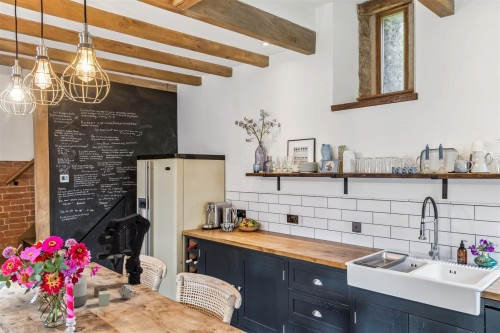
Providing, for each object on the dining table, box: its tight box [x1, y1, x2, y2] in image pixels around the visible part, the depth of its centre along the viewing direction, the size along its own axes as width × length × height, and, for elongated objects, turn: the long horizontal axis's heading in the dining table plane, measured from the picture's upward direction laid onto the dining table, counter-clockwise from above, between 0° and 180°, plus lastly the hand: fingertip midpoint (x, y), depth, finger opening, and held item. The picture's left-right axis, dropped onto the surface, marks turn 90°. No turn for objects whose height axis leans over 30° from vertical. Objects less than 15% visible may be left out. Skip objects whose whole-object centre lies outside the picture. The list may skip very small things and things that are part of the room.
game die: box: [118, 283, 135, 301], centre depth 207 cm, size 9×8×10 cm
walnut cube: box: [93, 284, 108, 299], centre depth 211 cm, size 5×5×5 cm
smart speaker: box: [73, 275, 88, 308], centre depth 196 cm, size 10×9×14 cm
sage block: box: [98, 290, 110, 307], centre depth 199 cm, size 5×5×6 cm
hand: (114, 269), depth 218 cm, fingers closed
